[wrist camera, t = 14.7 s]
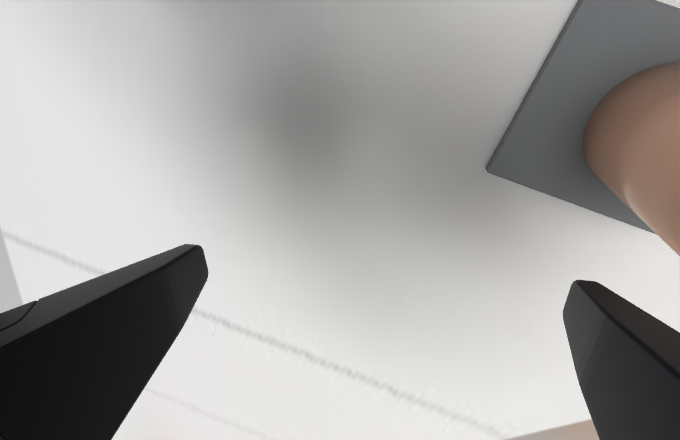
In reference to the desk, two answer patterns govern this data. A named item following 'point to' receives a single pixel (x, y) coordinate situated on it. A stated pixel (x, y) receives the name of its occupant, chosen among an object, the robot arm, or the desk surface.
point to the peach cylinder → (641, 147)
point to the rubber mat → (584, 98)
